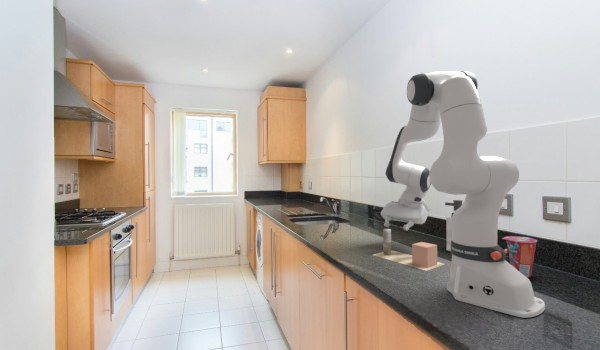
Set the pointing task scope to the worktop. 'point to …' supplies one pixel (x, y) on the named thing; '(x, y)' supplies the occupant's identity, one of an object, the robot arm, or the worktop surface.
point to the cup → (521, 253)
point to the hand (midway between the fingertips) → (395, 227)
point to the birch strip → (398, 253)
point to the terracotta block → (424, 254)
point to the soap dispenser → (457, 205)
